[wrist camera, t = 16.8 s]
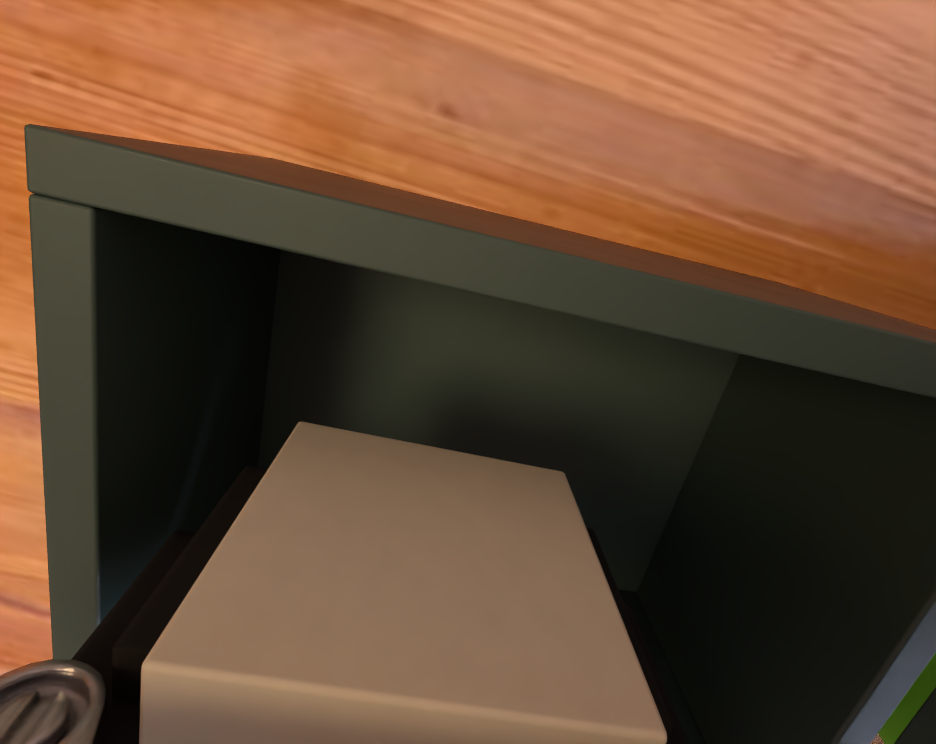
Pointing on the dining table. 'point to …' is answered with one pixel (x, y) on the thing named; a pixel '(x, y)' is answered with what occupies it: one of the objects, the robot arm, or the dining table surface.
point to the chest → (493, 409)
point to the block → (399, 610)
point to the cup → (910, 704)
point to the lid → (921, 724)
